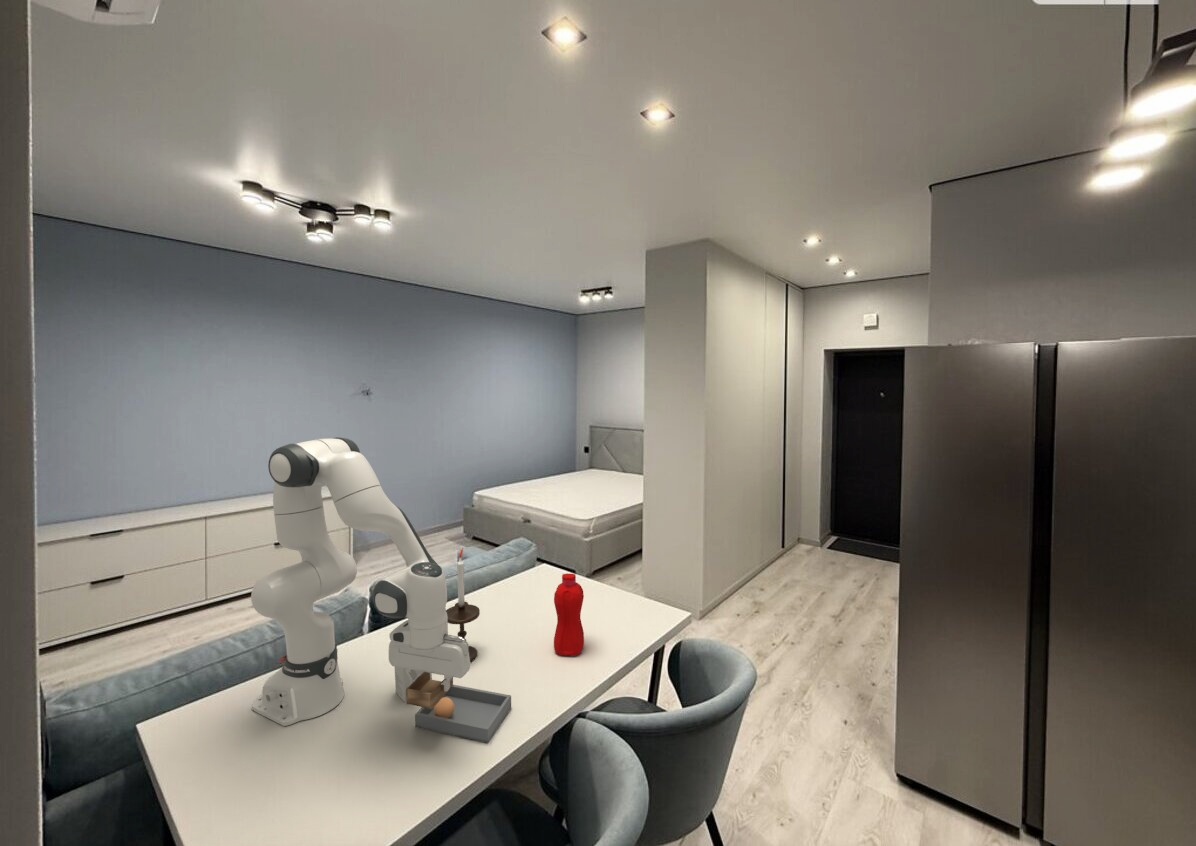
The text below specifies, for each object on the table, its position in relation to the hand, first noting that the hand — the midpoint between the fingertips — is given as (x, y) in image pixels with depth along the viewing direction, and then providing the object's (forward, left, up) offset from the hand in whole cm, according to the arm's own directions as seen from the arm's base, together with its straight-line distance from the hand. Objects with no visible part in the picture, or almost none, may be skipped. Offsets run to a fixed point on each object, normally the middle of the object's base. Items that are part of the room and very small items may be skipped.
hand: (430, 686), depth 118 cm
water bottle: (+20, +47, -13) cm, 52 cm away
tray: (+4, +8, -13) cm, 16 cm away
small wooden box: (0, 0, -2) cm, 2 cm away
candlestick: (-11, +33, -13) cm, 37 cm away
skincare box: (-15, +14, -13) cm, 24 cm away
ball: (-1, +6, -10) cm, 12 cm away
